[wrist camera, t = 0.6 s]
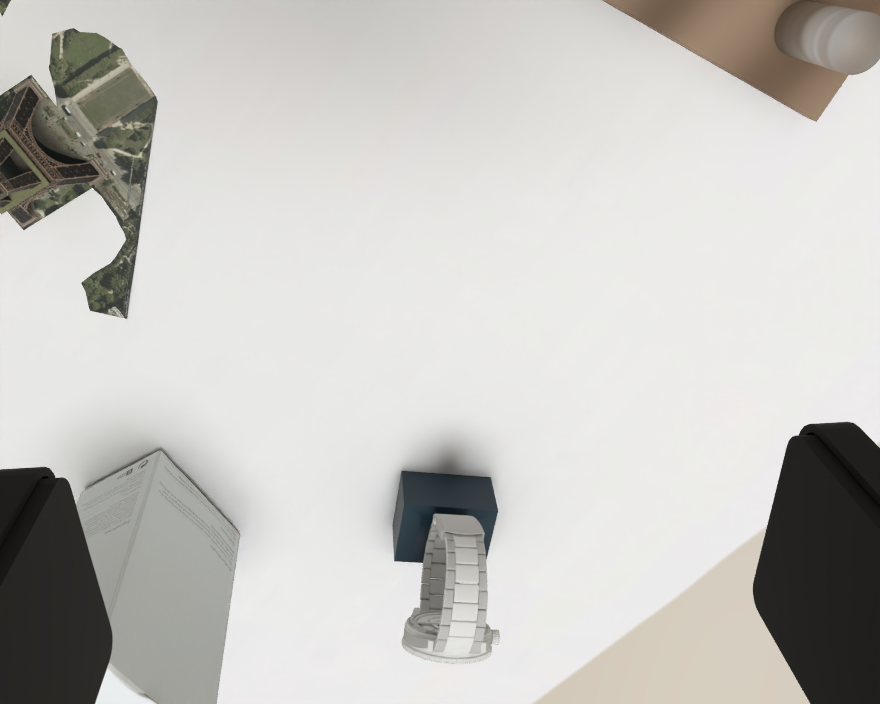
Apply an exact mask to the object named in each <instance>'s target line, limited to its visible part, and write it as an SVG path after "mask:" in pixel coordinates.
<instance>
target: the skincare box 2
mask: <svg viewBox="0 0 880 704" xmlns="http://www.w3.org/2000/svg"><path fill="white" fill-rule="evenodd" d="M76 507H77V511H78V514H79V518H80V521H81V525H82V528H83V531H84V535H85V538H86V542H87V545H88V549H89V552H90V556H91V559H92V563H93V566H94V569H95V573H96V576H97V580H98V583H99V587H100V590H101V594H102V597H103V600H104V604H105V607H106V611H107V614H108V618H109V621H110V625H111V629H112V636H113V644H112V653H111V657H110V661H109V664H108V667H107V670H106V673H105V676H104V679H103V682H102V685H101V688H100V690H99V693H98V696H97V699H96V702H95V704H216V703H217V696H218V688H219V681H220V674H221V666H222V659H223V653H224V646H225V639H226V631H227V624H228V617H229V610H230V602H231V595H232V588H233V581H234V573H235V567H236V560H237V552H238V545H239V539H240V534H239V533H238V532H237V531H236V529H235V528H234V527H233V526H232V525H231V524H230V523H229V522H228V521H227V520H226V519H225V518H224V517H223V516H222V515H221V513H220V512H219V511H218V510H217V509H216V508H215V507H214V506H213V505H212V504H211V503H210V502H209V501H208V500H207V499H206V498H205V496H204V495H203V494H202V493H201V492H200V491H199V490H198V489H197V488H196V487H195V486H194V485H193V484H192V482H191V481H190V480H189V479H188V478H187V477H186V476H185V475H184V474H183V473H182V472H181V471H180V470H179V469H178V468H177V467H176V466H175V465H174V464H173V463H172V462H171V461H170V460H169V458H168V457H167V456H166V455H165V454H164V453H163V452H162V451H157V452H155V453H153V454H151V455H149V456H147V457H145V458H144V459H142V460H140V461H138V462H136V463H135V464H133V465H131V466H129V467H127V468H125V469H123V470H121V471H119V472H117V473H114V474H112V475H111V476H109V477H107V478H105V479H103V480H101V481H99V482H97V483H95V484H93V485H91V486H89V487H88V488H86V490H85V491H83V492H82V493H81V495H80V497H79V500H78V502H77V505H76Z"/></svg>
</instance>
